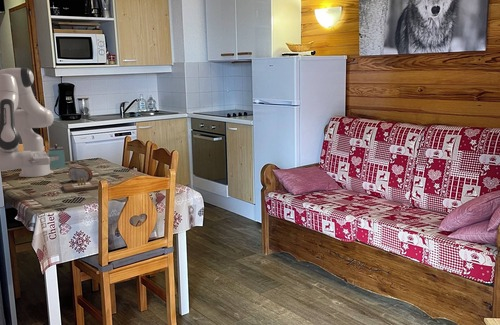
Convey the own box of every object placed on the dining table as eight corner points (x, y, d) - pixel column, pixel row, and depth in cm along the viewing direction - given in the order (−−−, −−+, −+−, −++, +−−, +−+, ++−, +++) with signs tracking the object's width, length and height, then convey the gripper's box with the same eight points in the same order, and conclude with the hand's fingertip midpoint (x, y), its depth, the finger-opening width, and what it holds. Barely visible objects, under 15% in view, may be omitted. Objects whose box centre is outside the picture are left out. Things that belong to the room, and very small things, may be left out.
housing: (50, 167, 259) (47, 144, 256) (64, 165, 262) (62, 143, 259) (51, 169, 254) (48, 145, 252) (65, 167, 257) (63, 144, 255)
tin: (93, 181, 279) (92, 166, 277) (89, 183, 276) (88, 168, 274) (71, 179, 284) (70, 165, 283) (68, 181, 281) (66, 166, 280)
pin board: (62, 187, 267) (61, 178, 266) (96, 182, 275) (96, 174, 274) (66, 192, 255) (65, 183, 254) (102, 188, 263) (101, 178, 262)
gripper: (29, 156, 241) (59, 153, 247) (26, 150, 259) (54, 147, 265) (30, 169, 242) (60, 166, 249) (27, 162, 260) (55, 159, 266)
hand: (57, 156), depth 257 cm, fingers closed on housing, 5 cm apart
